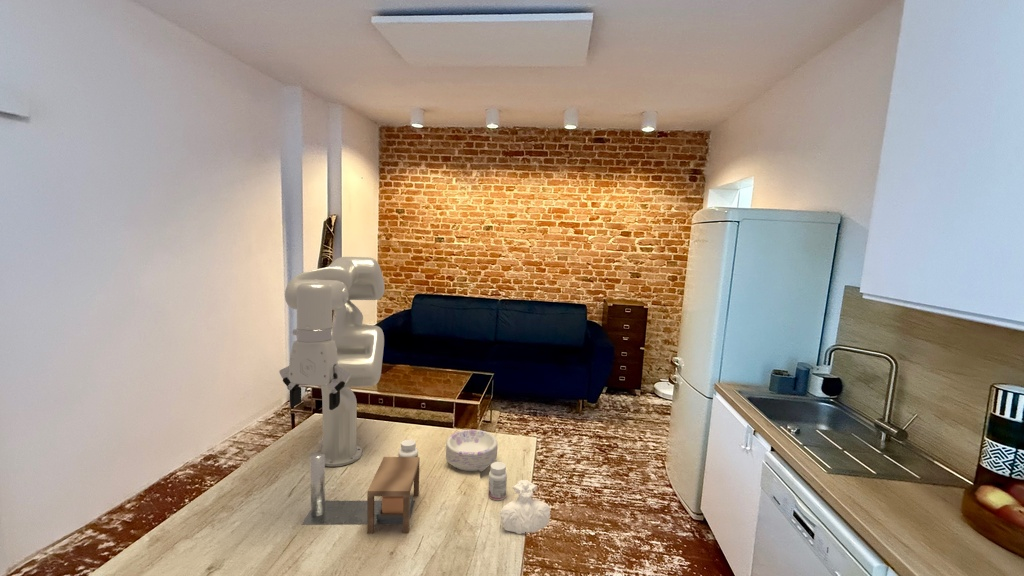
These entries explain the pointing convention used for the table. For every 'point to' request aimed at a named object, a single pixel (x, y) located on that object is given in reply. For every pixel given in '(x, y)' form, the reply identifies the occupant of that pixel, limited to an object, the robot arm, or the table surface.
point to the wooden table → (394, 485)
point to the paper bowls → (471, 450)
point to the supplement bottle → (408, 449)
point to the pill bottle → (497, 481)
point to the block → (392, 505)
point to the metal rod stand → (341, 503)
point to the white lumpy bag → (525, 511)
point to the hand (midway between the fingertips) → (314, 406)
